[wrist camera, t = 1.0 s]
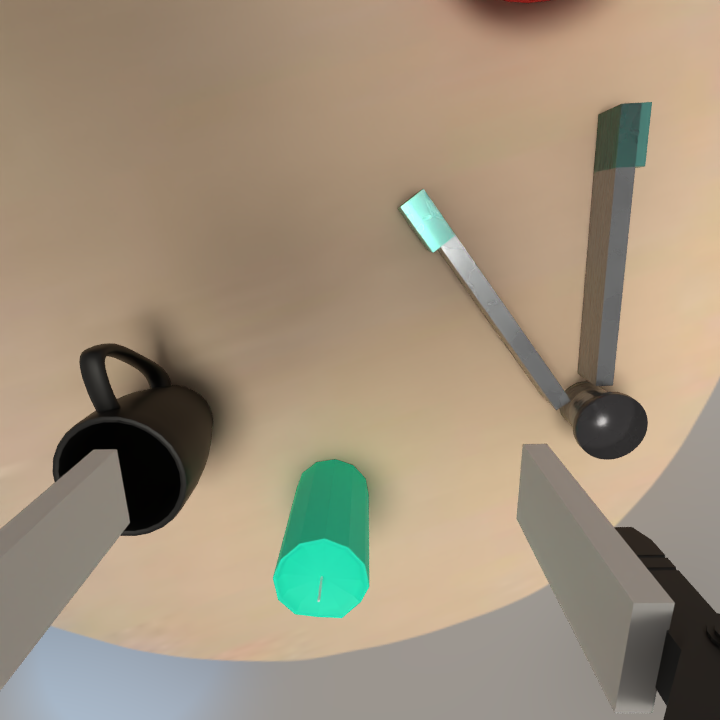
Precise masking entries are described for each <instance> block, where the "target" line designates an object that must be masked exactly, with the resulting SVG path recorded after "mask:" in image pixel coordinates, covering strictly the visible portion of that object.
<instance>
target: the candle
mask: <svg viewBox="0 0 720 720" xmlns="http://www.w3.org/2000/svg"><path fill="white" fill-rule="evenodd" d="M273 581H274V585H275V589H276V593H277V597H278V600H279V601H280V602H282V603H283V604H284V605H285V606H286V607H287V608H288V609H290V610H291V611H292V612H293V613H294V614H298V615H306V616H314V617H332V618H342V617H344V616H345V615H346V614H347V613H348V612H350V611H351V610H352V609H353V608H354V607H356V606H357V605H358V604H359V603H360V602H361V601H362V599H363V597H364V595H365V593H366V592H367V590H368V588H369V494H368V489H367V484H366V479H365V477H364V476H363V475H362V474H361V473H360V472H359V471H358V470H357V469H356V468H355V467H354V466H353V465H351V464H348V463H345V462H342V461H339V460H336V459H334V460H327V461H321V462H316V463H315V464H314V465H312V466H311V467H310V468H308V469H307V470H306V471H304V472H303V473H302V475H301V478H300V481H299V484H298V486H297V489H296V493H295V497H294V500H293V504H292V508H291V512H290V516H289V519H288V523H287V527H286V531H285V535H284V538H283V542H282V546H281V550H280V553H279V557H278V561H277V565H276V569H275V572H274V576H273Z"/></svg>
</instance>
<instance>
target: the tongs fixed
mask: <svg viewBox="0 0 720 720" xmlns="http://www.w3.org/2000/svg"><path fill="white" fill-rule="evenodd" d="M651 106H652V102H646V103H628V104H620V105H618V106H616V107H614V108H612V109H610V110H607V111H605V112H603V113H601V114H599V116H598V128H597V141H596V153H595V165H594V178H593V190H592V202H591V215H590V227H589V240H588V252H587V264H586V277H585V289H584V302H583V314H582V326H581V339H580V351H579V363H578V374H579V375H581V376H582V377H584V378H585V379H586V380H588V381H589V382H580V383H576V384H574V385H572V386H571V387H569V388H568V389H567V390H566V391H565V393H566V394H567V396H568V397H569V399H570V400H571V401H570V402H568V403H567V404H565V405H564V406H562V407H561V408H560V411H561V414H562V416H563V417H564V418H565V420H566V421H567V422H569V423H570V424H571V425H572V426H573V433H574V437H575V439H576V441H577V443H578V444H579V445H580V446H581V447H582V449H583V450H584V451H585V452H587V453H588V454H590V455H591V456H593V457H596V458H599V459H615V458H619V457H622V456H625V455H627V454H628V453H630V452H631V451H633V450H634V449H635V448H636V447H637V446H638V445H639V444H640V443H641V441H642V440H643V438H644V436H645V434H646V431H647V425H648V421H647V415H646V412H645V410H644V408H643V407H642V406H641V405H640V403H638V402H637V401H636V400H634V399H633V398H631V397H630V396H628V395H626V394H623V393H619V392H607V391H606V390H604V389H603V388H601V387H600V386H612V385H613V379H614V370H615V360H616V350H617V340H618V331H619V321H620V311H621V301H622V292H623V282H624V272H625V262H626V253H627V243H628V233H629V223H630V213H631V204H632V194H633V184H634V174H635V168H639V167H644V166H645V162H646V153H647V143H648V134H649V125H650V116H651Z"/></svg>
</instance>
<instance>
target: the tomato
mask: <svg viewBox="0 0 720 720" xmlns="http://www.w3.org/2000/svg"><path fill="white" fill-rule="evenodd" d="M504 1H508V2H522V3H532V2H542V1H550V0H504Z"/></svg>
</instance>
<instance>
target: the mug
mask: <svg viewBox="0 0 720 720" xmlns="http://www.w3.org/2000/svg"><path fill="white" fill-rule="evenodd" d="M106 356H110V357H114V358H116V359H119V360H121V361H123V362H125V363H127V364H129V365H131V366H133V367H135V368H136V369H138V370H139V371H140V372H141V373H142V374H143V375H144V376H145V377H146V379H147V380H148V382H149V385H150V389H147V390H142V391H138V392H134V393H131V394H128V395H125V396H123V397H121V398H119V399H116V397H115V395H114V393H113V390H112V388H111V385H110V383H109V380H108V376H107V373H106V368H105V358H106ZM80 369H81V374H82V377H83V381H84V384H85V386H86V389H87V392H88V394H89V396H90V399H91V401H92V403H93V405H94V407H95V409H96V411H95V412H93V413H92V414H90V415H89V416H87V417H86V418H85V419H83V420H82V421H80V422H79V423H77V424H76V425H75V426H74V427H72V428H71V429H70V430H69V431H68V432H67V433H66V434H65V435H64V437H63V438H62V439H61V441H60V442H59V444H58V446H57V449H56V452H55V455H54V458H53V476H54V481H55V482H56V481H57V480H59V479H60V478H61V477H62V476H63V475H64V474H66V473H67V472H68V471H69V470H70V469H71V468H73V467H74V466H75V465H76V464H77V463H78V462H80V461H81V460H82V459H83V458H84V457H85V456H87V455H88V454H89V453H90V452H91V451H93V450H103V449H117V453H118V458H119V464H120V469H121V475H122V481H123V486H124V492H125V497H126V503H127V508H128V514H129V520H130V523H129V525H128V526H127V527H126V528H125V530H124V531H123V532H122V534H121V536H137V535H142V534H147V533H151V532H153V531H155V530H157V529H160V528H162V527H164V526H165V525H166V524H167V523H169V522H170V521H171V520H173V519H174V518H175V516H176V515H177V514H178V513H179V511H180V510H181V509H182V507H183V506H184V504H185V503H186V501H187V500H188V498H189V496H190V495H191V493H192V492H193V490H194V489H195V487H196V485H197V484H198V481H199V479H200V477H201V474H202V472H203V470H204V467H205V465H206V462H207V459H208V455H209V450H210V443H211V435H212V425H213V418H212V413H211V410H210V407H209V405H208V404H207V402H206V401H205V400H204V399H203V397H202V396H201V395H199V394H198V393H197V392H195V391H194V390H192V389H189V388H187V387H184V386H179V385H171V382H170V379H169V376H168V375H167V373H166V372H165V370H164V369H163V368H162V367H160V366H159V365H158V364H156V363H155V362H153V361H151V360H149V359H148V358H146V357H144V356H142V355H140V354H138V353H136V352H134V351H133V350H130V349H128V348H126V347H123V346H120V345H117V344H101V345H96V346H93V347H91V348H88V349H86V350H84V351H83V352H82V354H81V356H80Z"/></svg>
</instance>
